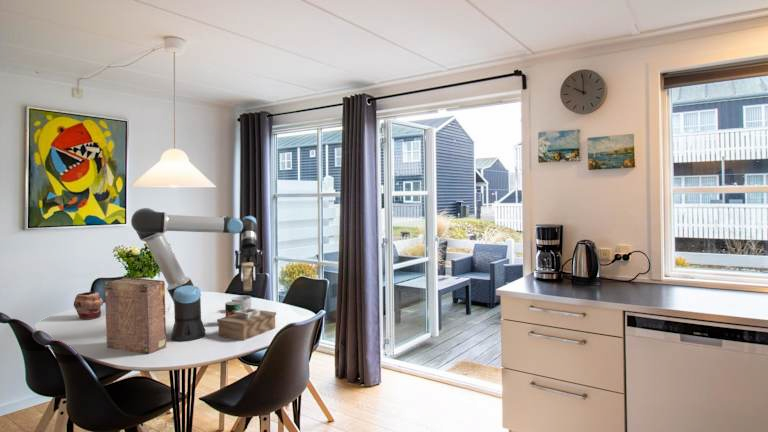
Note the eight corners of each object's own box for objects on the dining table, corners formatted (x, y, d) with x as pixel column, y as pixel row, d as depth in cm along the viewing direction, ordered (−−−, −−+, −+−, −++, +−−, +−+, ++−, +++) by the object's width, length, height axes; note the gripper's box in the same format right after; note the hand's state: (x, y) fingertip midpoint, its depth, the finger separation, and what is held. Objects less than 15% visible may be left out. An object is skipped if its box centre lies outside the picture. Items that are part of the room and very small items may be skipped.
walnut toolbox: (243, 340, 215) (243, 318, 215) (217, 336, 223) (216, 314, 222) (276, 328, 235) (276, 307, 235) (251, 323, 243) (250, 304, 243)
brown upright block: (106, 347, 207) (104, 280, 206) (124, 341, 216) (122, 277, 214) (149, 354, 198) (147, 284, 197) (166, 347, 207) (164, 280, 205)
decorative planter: (63, 319, 255) (62, 294, 254) (84, 313, 267) (83, 289, 266) (91, 322, 249) (90, 296, 248) (111, 316, 260) (110, 291, 260)
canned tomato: (225, 326, 239) (224, 305, 239) (226, 322, 247) (225, 301, 246) (241, 324, 241) (240, 304, 241) (241, 320, 249) (241, 300, 249)
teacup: (248, 313, 265) (247, 299, 264) (229, 313, 265) (228, 299, 265) (255, 307, 279) (255, 294, 278) (237, 307, 279) (237, 294, 279)
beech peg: (247, 292, 225) (247, 264, 224) (239, 290, 228) (238, 263, 227) (255, 290, 230) (255, 262, 229) (247, 288, 232) (247, 262, 232)
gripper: (267, 245, 245) (267, 282, 230) (231, 247, 241) (229, 284, 226) (266, 236, 239) (267, 273, 224) (230, 237, 235) (228, 275, 220)
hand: (248, 279), depth 225 cm, fingers open, 5 cm apart
